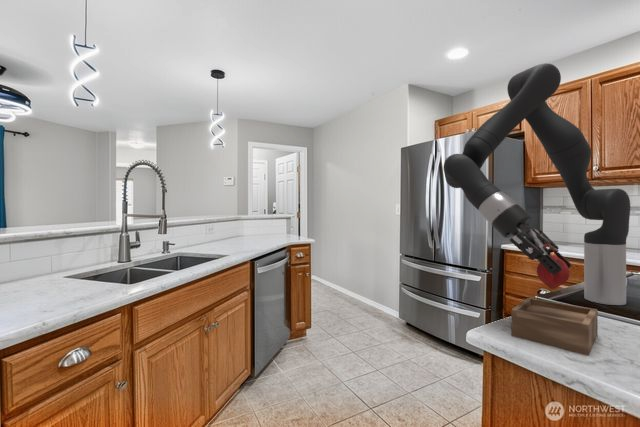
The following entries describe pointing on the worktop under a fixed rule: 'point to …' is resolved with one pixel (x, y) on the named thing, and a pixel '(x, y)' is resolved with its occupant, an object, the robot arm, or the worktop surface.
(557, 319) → the brown wooden box
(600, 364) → the worktop surface
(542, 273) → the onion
